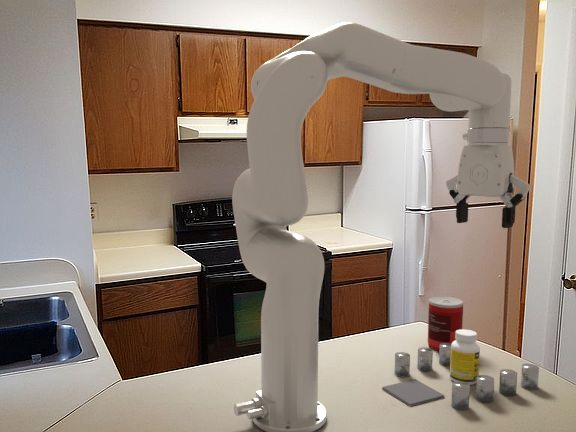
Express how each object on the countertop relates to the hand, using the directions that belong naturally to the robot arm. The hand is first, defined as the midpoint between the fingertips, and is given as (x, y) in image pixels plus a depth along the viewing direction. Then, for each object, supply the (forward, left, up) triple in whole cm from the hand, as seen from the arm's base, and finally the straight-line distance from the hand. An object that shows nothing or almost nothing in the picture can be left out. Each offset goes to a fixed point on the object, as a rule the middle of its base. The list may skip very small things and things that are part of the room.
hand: (483, 224), depth 107 cm
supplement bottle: (-5, -2, -31) cm, 31 cm away
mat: (-18, -2, -31) cm, 36 cm away
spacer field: (-5, -2, -31) cm, 31 cm away
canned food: (+5, +14, -31) cm, 34 cm away
